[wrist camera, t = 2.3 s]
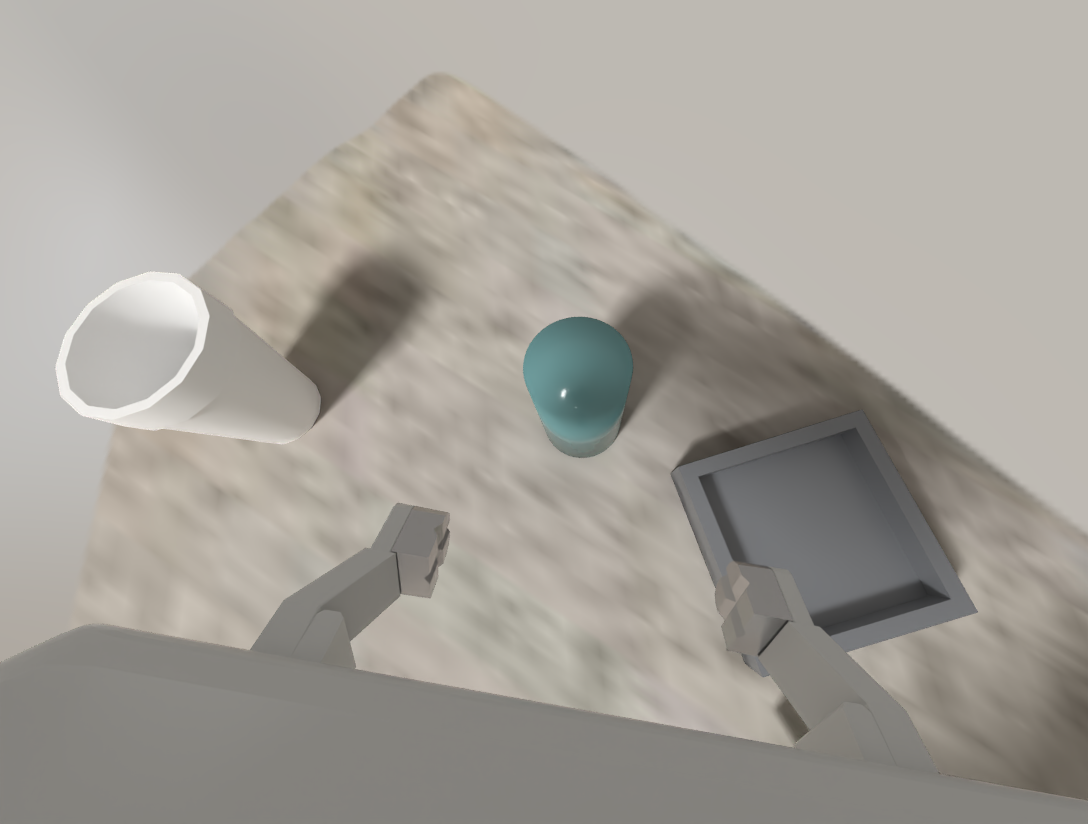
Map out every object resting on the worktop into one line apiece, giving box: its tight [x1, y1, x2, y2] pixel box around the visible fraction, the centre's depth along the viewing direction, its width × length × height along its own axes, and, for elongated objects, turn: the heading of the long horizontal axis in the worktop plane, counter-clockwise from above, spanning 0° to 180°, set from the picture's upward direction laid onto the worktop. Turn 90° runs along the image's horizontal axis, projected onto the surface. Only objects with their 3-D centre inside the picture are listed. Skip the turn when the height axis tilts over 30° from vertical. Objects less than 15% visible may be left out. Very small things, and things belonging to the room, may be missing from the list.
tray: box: [671, 410, 978, 677], centre depth 28 cm, size 13×13×3 cm
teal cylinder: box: [523, 317, 633, 458], centre depth 28 cm, size 6×6×11 cm
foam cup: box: [55, 272, 321, 444], centre depth 31 cm, size 10×9×13 cm
